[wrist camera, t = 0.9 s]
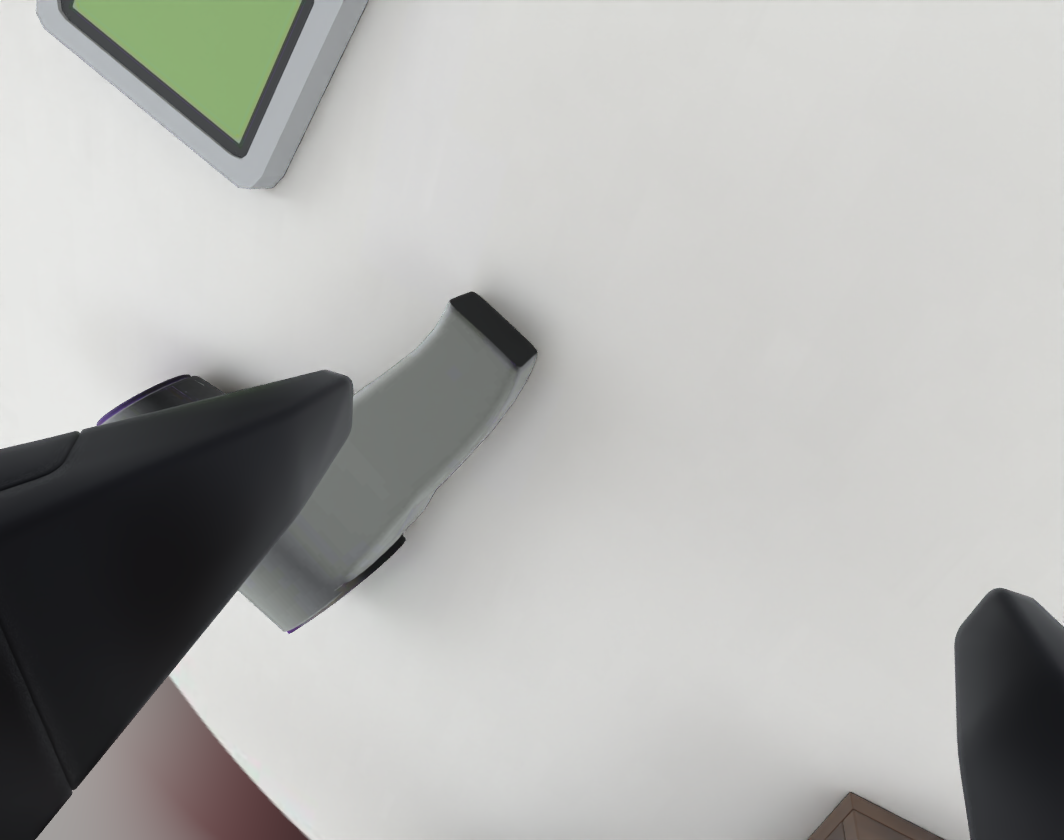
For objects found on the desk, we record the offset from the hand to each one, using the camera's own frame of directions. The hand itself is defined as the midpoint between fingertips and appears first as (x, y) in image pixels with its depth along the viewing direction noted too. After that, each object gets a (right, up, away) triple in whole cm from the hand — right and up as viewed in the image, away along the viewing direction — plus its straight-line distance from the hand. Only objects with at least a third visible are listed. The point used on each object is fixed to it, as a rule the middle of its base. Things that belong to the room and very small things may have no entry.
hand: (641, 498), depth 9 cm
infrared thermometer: (-9, +2, +18) cm, 20 cm away
